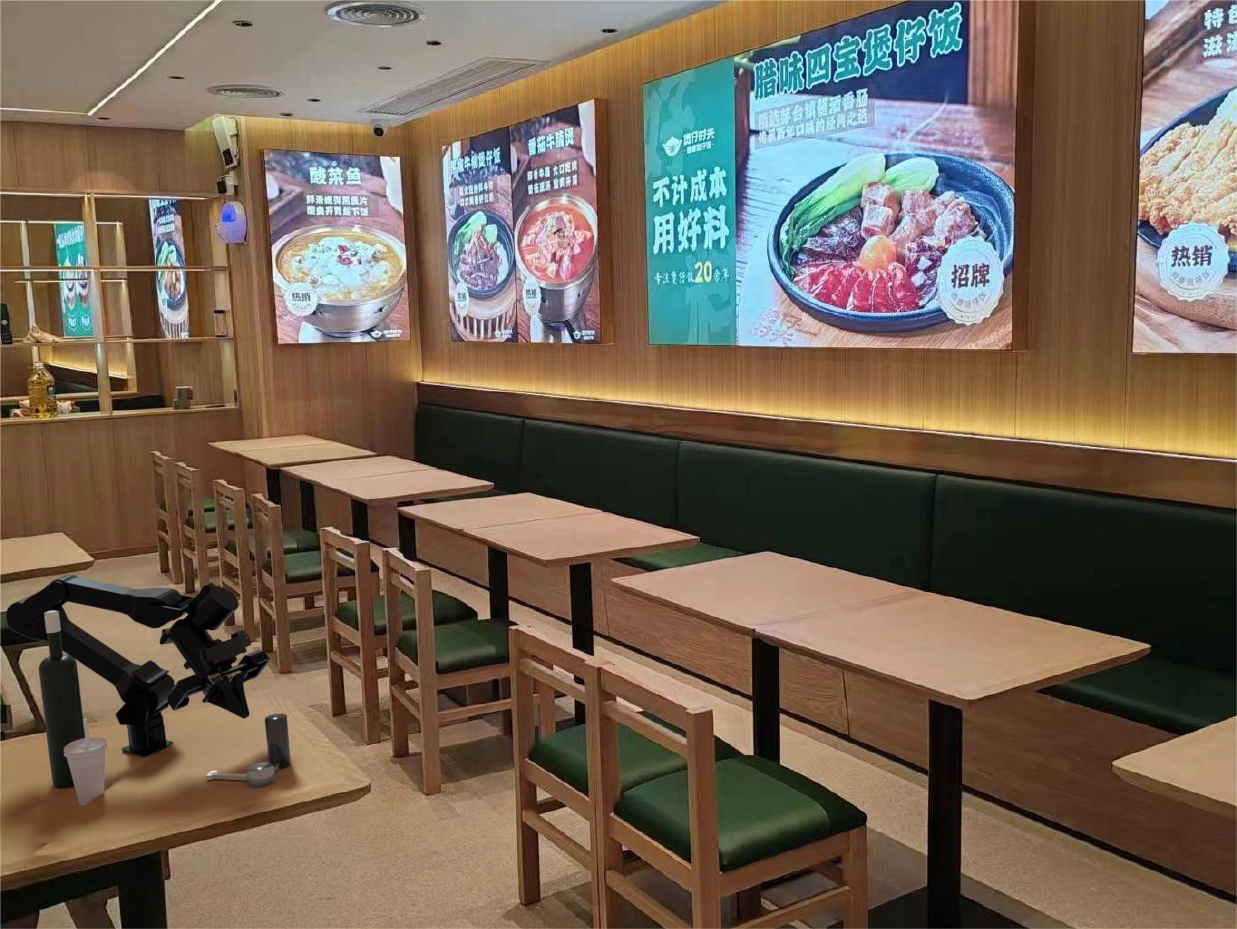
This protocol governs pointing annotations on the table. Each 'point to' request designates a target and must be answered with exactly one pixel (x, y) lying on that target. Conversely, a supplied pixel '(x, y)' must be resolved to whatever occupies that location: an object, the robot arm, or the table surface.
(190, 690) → the robot arm
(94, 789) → the smoothie
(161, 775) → the table surface
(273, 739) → the dial
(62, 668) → the wine bottle
